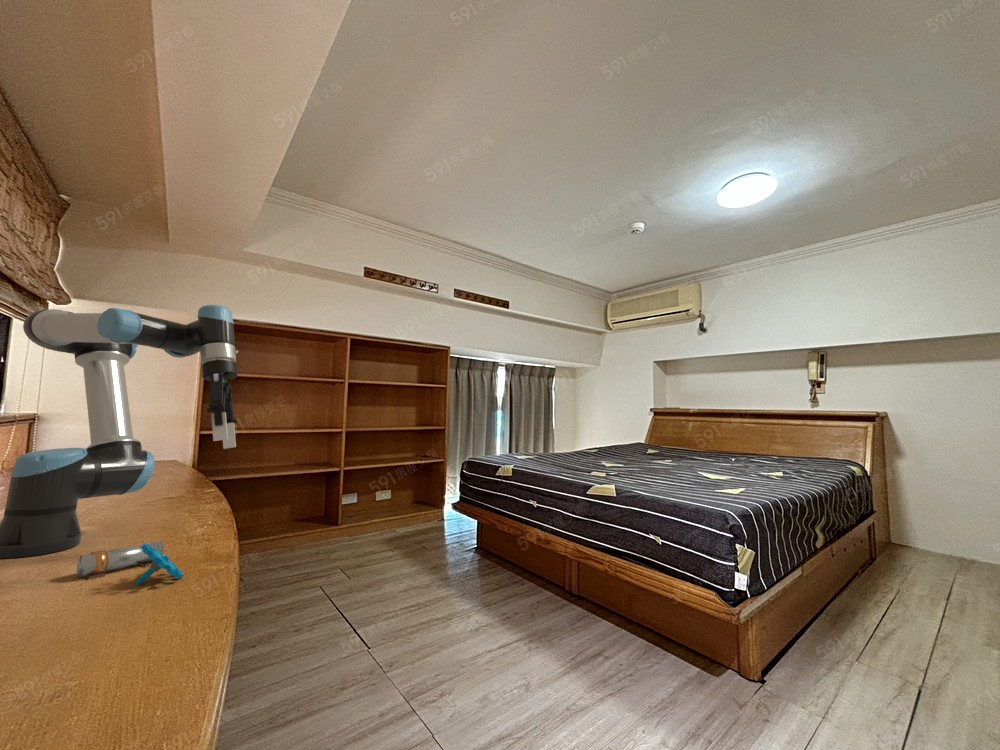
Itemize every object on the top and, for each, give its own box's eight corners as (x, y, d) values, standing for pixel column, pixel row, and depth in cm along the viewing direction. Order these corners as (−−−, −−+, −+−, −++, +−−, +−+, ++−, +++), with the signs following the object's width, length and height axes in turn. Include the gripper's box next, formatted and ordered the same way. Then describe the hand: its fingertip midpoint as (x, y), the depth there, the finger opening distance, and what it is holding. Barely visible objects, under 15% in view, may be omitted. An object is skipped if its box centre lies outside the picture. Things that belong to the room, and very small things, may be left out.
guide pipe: (74, 575, 81) (78, 551, 82) (153, 558, 92) (156, 538, 93) (83, 581, 79) (87, 556, 79) (162, 563, 90) (166, 541, 91)
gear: (187, 576, 79) (146, 543, 77) (156, 605, 76) (112, 571, 73) (186, 568, 88) (149, 538, 85) (158, 593, 84) (119, 562, 82)
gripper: (228, 345, 95) (236, 433, 90) (242, 375, 116) (249, 448, 112) (189, 347, 91) (195, 439, 87) (211, 378, 113) (216, 453, 108)
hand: (225, 444), depth 99 cm, fingers open, 13 cm apart
